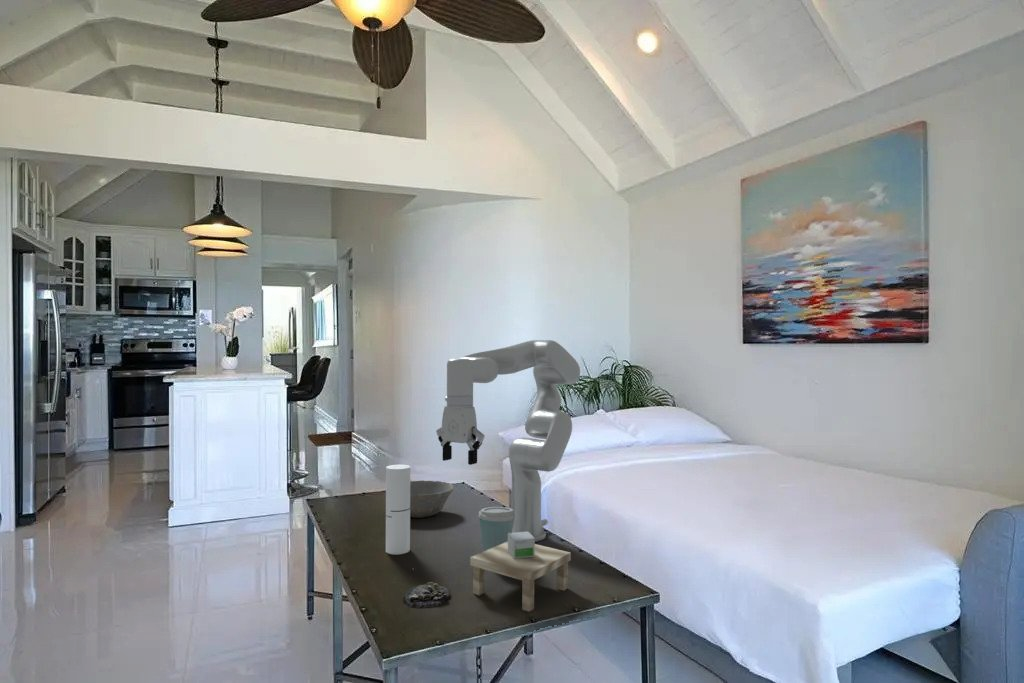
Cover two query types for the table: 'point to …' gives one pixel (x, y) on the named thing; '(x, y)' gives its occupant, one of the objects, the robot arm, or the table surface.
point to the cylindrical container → (397, 509)
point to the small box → (521, 545)
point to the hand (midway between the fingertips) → (459, 461)
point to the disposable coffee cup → (495, 525)
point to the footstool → (521, 569)
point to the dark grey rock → (426, 595)
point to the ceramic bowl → (428, 497)
